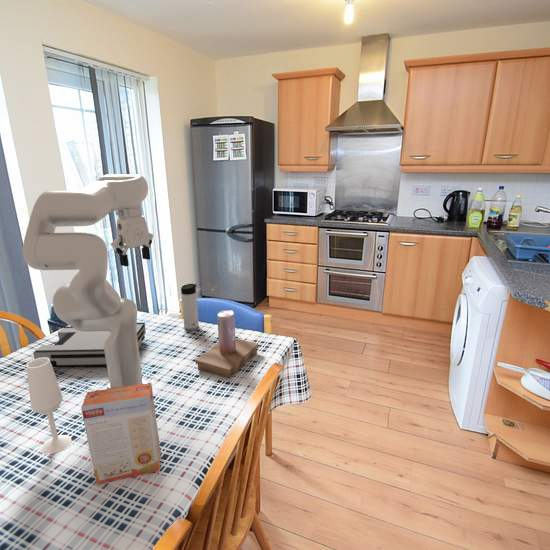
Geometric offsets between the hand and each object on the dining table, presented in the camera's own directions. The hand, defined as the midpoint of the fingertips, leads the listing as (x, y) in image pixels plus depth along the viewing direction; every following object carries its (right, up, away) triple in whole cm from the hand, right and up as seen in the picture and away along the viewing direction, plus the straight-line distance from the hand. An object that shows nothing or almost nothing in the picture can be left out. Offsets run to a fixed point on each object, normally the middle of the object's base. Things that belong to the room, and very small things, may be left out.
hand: (136, 262), depth 126 cm
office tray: (-20, -35, +12) cm, 42 cm away
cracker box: (+14, -51, -40) cm, 66 cm away
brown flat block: (+31, -36, +6) cm, 48 cm away
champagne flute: (-8, -48, -32) cm, 59 cm away
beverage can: (+31, -32, +5) cm, 45 cm away
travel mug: (+12, -28, +33) cm, 45 cm away
